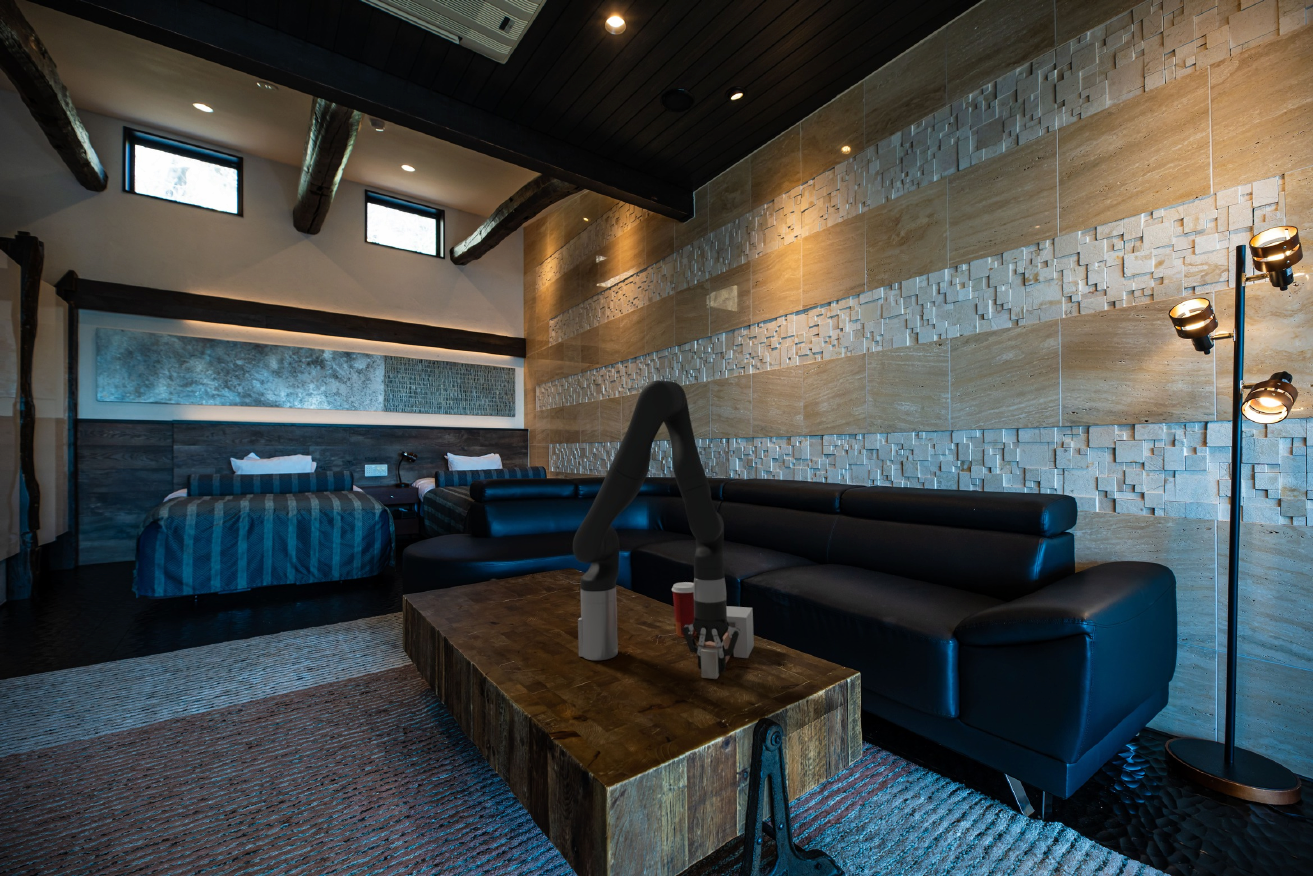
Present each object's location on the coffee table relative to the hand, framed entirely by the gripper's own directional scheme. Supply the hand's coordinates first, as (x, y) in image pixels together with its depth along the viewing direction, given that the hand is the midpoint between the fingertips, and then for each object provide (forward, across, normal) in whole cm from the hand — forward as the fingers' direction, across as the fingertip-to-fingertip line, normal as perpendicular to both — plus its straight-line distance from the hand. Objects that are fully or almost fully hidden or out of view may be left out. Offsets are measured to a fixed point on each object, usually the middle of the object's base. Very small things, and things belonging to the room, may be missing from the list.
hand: (712, 671), depth 125 cm
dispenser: (+1, 0, +17) cm, 17 cm away
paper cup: (+1, -14, +26) cm, 29 cm away
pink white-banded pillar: (0, 0, +5) cm, 5 cm away
